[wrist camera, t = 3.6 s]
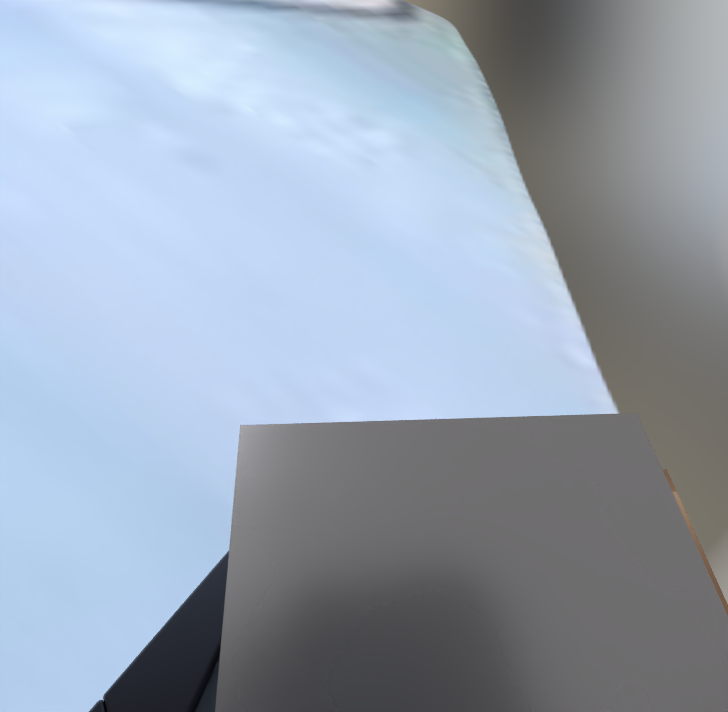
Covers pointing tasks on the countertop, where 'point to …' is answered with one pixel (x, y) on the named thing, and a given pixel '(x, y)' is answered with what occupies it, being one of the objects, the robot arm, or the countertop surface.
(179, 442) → the countertop surface
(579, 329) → the countertop surface
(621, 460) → the post
